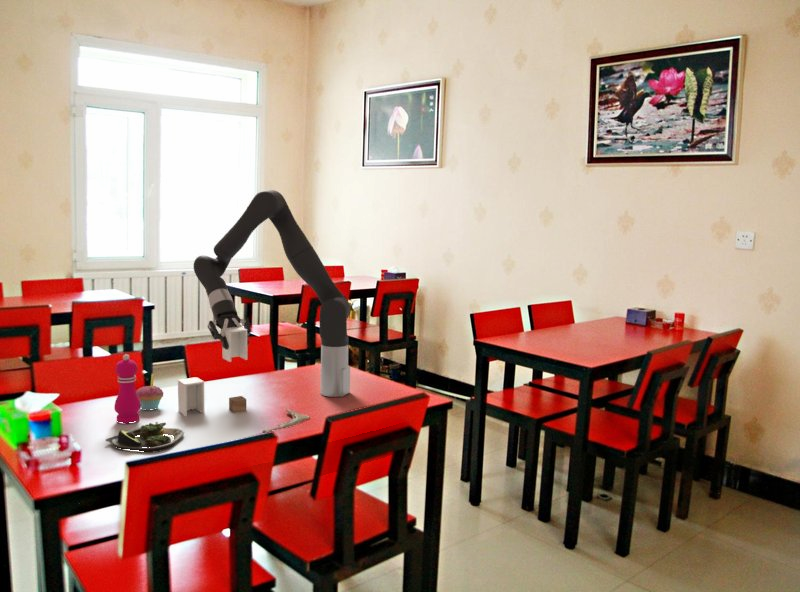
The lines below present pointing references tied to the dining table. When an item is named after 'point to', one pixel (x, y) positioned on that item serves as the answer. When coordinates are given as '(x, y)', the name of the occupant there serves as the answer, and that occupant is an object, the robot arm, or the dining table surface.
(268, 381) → the dining table surface
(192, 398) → the hood empty
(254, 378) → the dining table surface
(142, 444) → the salad plate
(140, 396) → the cupcake
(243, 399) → the walnut cube
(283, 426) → the jawbone
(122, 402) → the pepper mill
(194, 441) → the dining table surface
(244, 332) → the hood cube
